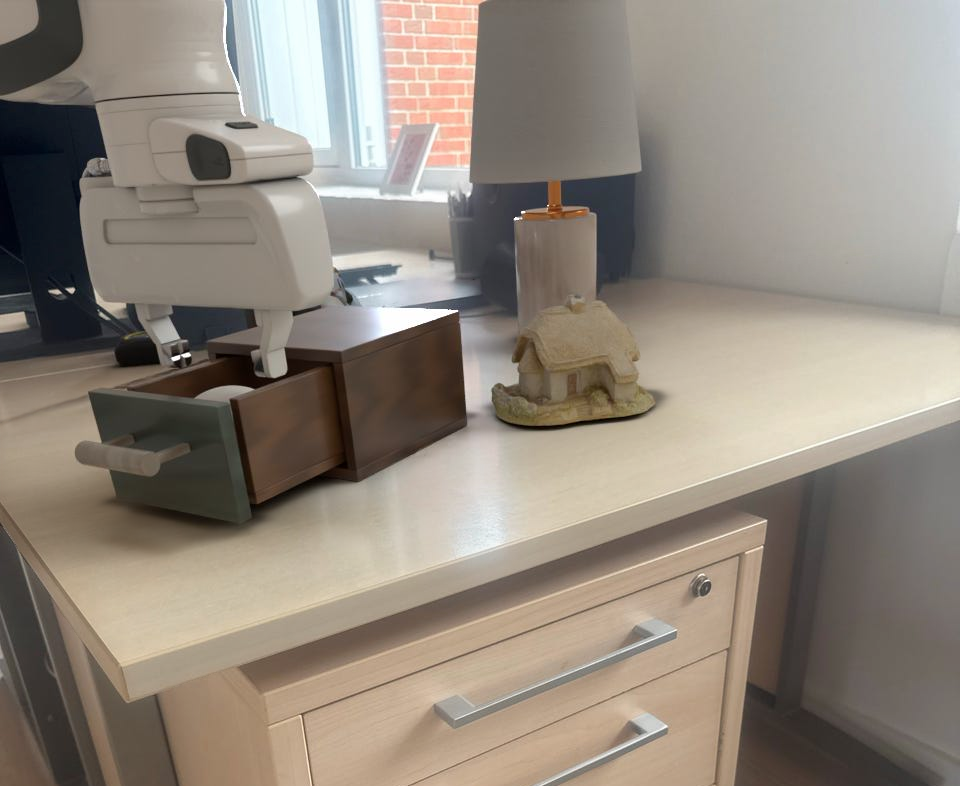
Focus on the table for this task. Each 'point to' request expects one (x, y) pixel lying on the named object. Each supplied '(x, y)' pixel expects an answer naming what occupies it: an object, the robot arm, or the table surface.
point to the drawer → (217, 436)
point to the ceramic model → (573, 368)
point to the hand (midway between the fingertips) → (223, 371)
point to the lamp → (553, 129)
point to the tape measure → (136, 350)
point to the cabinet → (378, 377)
